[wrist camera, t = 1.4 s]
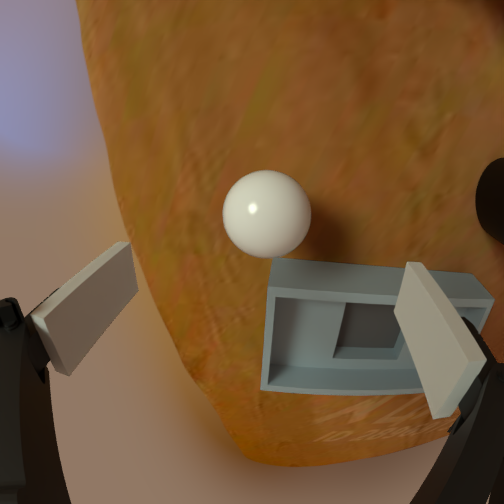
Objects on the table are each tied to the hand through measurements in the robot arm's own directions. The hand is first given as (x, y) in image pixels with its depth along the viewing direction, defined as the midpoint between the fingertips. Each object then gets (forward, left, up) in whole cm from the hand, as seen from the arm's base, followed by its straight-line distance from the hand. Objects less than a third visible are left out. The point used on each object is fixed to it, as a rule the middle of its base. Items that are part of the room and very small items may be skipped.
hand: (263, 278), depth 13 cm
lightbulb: (0, -1, -17) cm, 17 cm away
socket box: (+14, +12, -17) cm, 25 cm away
